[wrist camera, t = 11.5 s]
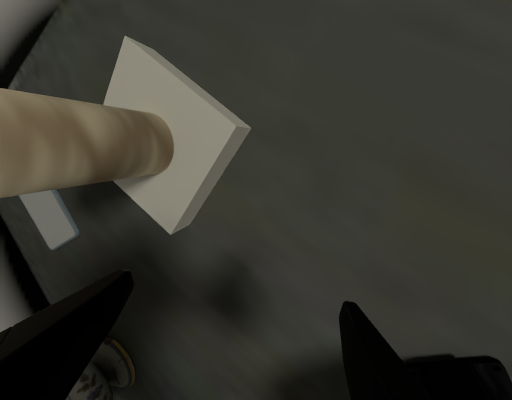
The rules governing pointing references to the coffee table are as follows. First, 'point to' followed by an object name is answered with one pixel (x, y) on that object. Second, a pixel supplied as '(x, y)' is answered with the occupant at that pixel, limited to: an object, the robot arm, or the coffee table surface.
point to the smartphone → (51, 217)
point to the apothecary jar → (104, 373)
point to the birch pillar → (75, 143)
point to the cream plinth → (175, 134)
